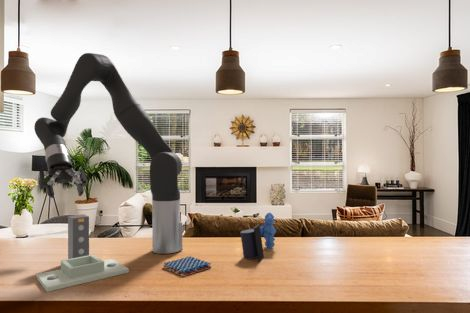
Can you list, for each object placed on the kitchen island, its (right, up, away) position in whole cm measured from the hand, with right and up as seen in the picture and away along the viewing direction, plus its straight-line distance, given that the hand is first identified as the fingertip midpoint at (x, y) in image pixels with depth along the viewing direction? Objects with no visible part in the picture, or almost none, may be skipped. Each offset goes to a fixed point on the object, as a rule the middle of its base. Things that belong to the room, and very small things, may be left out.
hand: (67, 195), depth 109 cm
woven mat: (+41, -20, -13) cm, 47 cm away
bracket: (+14, -19, -19) cm, 30 cm away
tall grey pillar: (+8, -19, -9) cm, 23 cm away
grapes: (+66, -19, +7) cm, 69 cm away
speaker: (+60, -19, -4) cm, 63 cm away
